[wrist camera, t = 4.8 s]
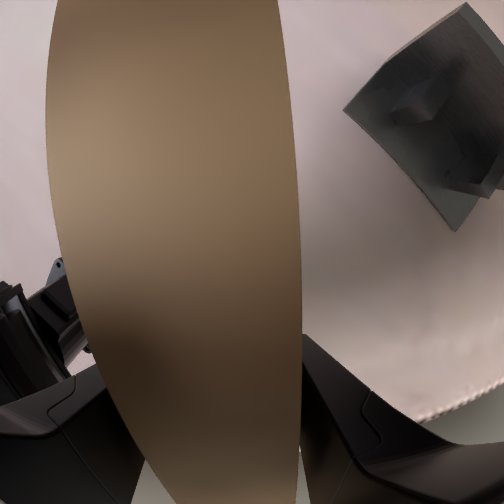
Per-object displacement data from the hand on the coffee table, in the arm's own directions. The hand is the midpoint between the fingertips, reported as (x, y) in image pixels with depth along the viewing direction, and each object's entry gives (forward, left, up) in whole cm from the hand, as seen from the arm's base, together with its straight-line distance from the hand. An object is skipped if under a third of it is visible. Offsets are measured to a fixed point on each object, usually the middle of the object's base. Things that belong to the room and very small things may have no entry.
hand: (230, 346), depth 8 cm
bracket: (+14, -5, -11) cm, 18 cm away
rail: (+1, +1, -1) cm, 2 cm away
